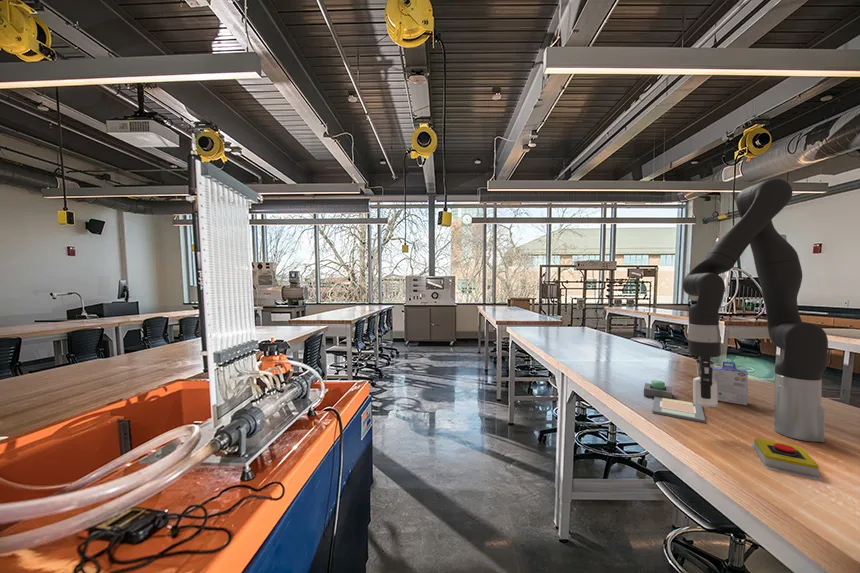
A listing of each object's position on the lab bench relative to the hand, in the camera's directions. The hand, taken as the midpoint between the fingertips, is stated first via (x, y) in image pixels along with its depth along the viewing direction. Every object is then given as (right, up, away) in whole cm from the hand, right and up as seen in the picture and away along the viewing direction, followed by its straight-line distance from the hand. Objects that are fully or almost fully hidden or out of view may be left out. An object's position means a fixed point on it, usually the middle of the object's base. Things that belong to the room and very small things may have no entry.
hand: (705, 395), depth 100 cm
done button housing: (+8, -10, +32) cm, 34 cm away
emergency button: (+6, -11, -17) cm, 21 cm away
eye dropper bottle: (0, -3, 0) cm, 3 cm away
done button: (+8, -8, +32) cm, 34 cm away
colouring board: (+4, -10, +17) cm, 20 cm away
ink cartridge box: (+30, -11, +25) cm, 41 cm away
